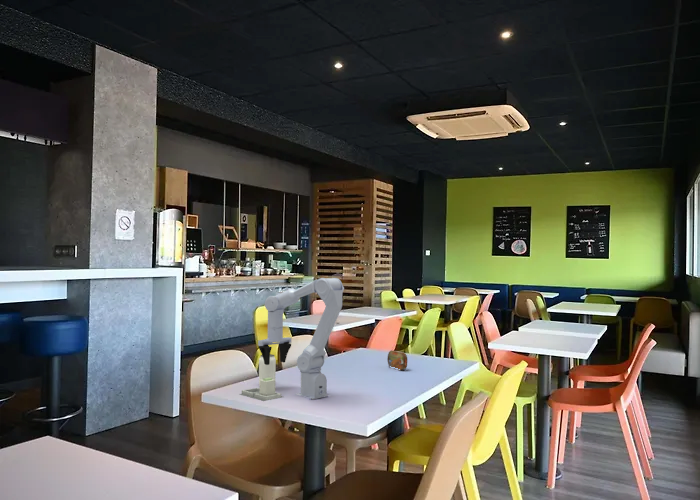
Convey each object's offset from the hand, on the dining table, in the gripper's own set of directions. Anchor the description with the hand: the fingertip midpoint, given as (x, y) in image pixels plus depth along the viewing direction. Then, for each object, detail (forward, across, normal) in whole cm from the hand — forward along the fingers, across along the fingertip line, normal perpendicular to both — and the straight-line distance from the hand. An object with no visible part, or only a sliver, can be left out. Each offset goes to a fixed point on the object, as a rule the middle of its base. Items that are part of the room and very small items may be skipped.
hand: (274, 363), depth 208 cm
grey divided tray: (+10, +10, +5) cm, 15 cm away
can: (+11, -4, -10) cm, 15 cm away
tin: (+11, -71, +2) cm, 72 cm away
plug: (+10, +10, +9) cm, 16 cm away
